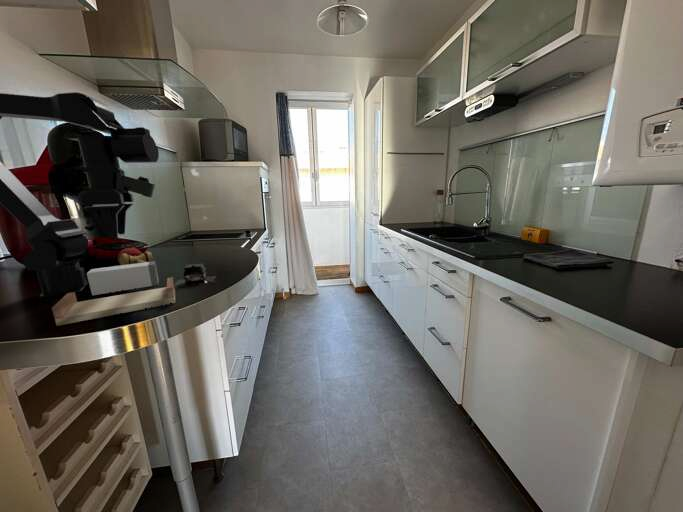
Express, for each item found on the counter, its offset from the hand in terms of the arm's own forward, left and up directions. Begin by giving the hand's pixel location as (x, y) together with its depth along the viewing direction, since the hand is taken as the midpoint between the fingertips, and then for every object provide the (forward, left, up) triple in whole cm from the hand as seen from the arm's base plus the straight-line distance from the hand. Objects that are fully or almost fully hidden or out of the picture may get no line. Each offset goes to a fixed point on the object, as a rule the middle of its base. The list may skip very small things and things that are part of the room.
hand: (118, 236), depth 61 cm
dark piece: (+14, -4, -13) cm, 19 cm away
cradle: (+1, -13, -12) cm, 18 cm away
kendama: (+1, +17, -12) cm, 21 cm away
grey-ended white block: (0, 0, -12) cm, 12 cm away
